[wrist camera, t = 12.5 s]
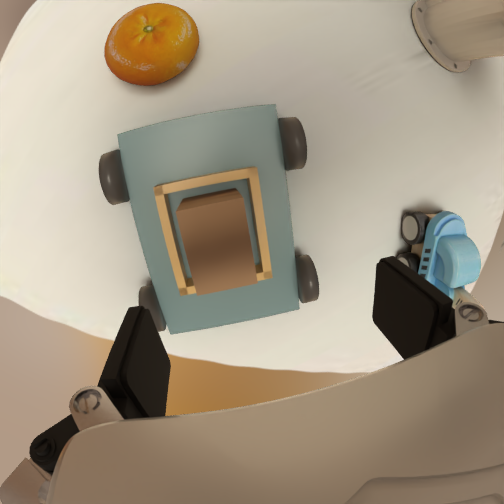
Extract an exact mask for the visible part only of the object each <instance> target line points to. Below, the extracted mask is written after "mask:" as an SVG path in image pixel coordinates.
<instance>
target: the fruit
mask: <svg viewBox="0 0 504 504" xmlns="http://www.w3.org/2000/svg"><path fill="white" fill-rule="evenodd" d="M198 46H199V35H198V29H197V26H196V24H195V22H194V20H193V19H192V18H191V17H190V15H189V14H188V13H187V12H186V11H184V10H183V9H181V8H179V7H176V6H173V5H169V4H164V3H154V4H148V5H143V6H140V7H137V8H135V9H133V10H131V11H130V12H128V13H127V14H125V15H124V16H123V17H121V18H120V19H119V20H118V21H117V22H116V23H115V25H114V26H113V27H112V29H111V31H110V33H109V35H108V38H107V41H106V44H105V60H106V63H107V65H108V67H109V69H110V70H111V71H112V73H113V74H115V75H116V76H117V77H118V78H119V79H121V80H123V81H126V82H128V83H131V84H136V85H144V86H149V85H156V84H160V83H162V82H165V81H167V80H169V79H171V78H173V77H175V76H176V75H178V74H179V73H181V72H182V71H183V70H184V69H185V68H186V67H187V66H188V65H189V63H190V62H191V61H192V59H193V58H194V56H195V54H196V52H197V49H198Z"/></svg>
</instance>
